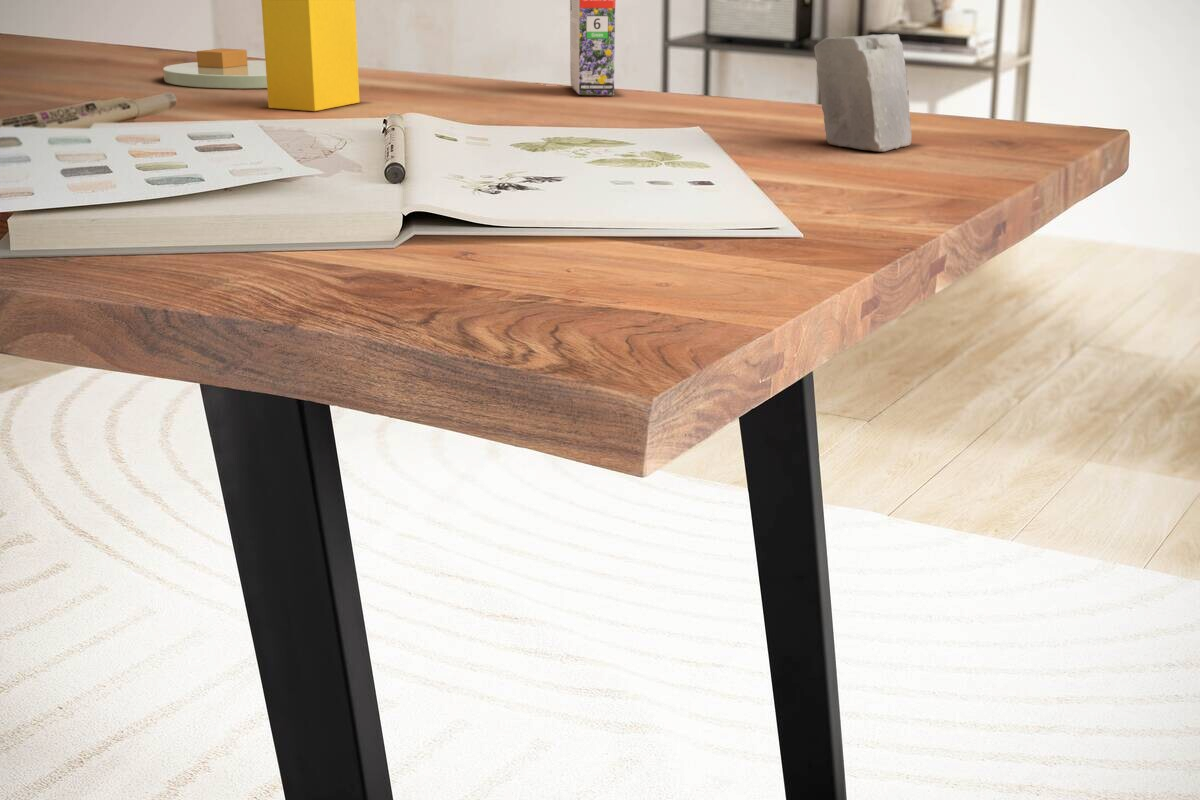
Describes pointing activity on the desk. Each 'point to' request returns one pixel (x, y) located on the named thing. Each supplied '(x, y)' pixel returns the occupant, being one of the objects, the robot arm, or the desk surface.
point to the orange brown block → (222, 58)
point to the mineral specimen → (864, 92)
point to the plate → (218, 76)
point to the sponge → (310, 53)
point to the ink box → (592, 46)
